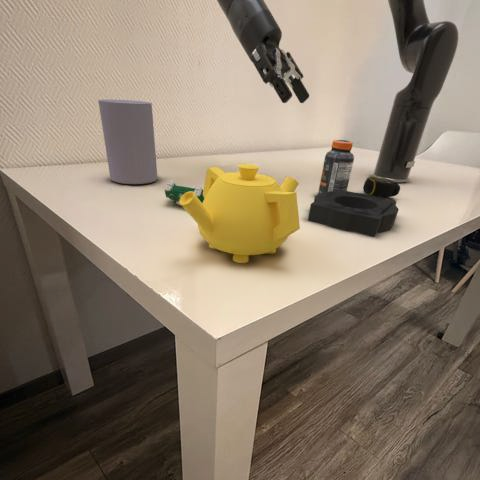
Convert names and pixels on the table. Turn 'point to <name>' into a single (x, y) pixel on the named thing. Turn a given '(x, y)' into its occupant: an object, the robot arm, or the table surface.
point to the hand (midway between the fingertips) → (297, 100)
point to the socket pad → (353, 212)
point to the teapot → (244, 211)
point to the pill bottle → (337, 167)
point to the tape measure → (380, 187)
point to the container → (129, 141)
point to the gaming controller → (182, 192)
